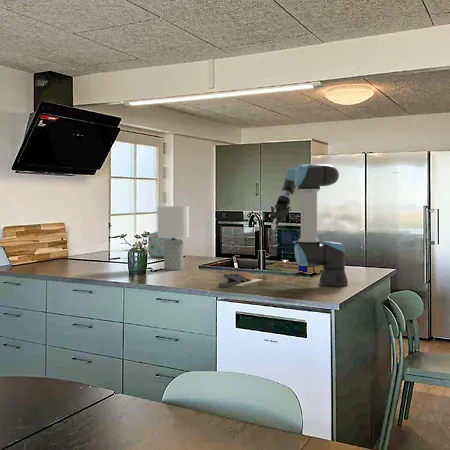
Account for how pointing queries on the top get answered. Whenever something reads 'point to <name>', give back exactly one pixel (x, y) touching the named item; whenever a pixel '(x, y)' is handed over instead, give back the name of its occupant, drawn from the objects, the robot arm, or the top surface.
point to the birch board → (248, 282)
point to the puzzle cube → (310, 269)
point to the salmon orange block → (245, 275)
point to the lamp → (173, 233)
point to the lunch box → (156, 245)
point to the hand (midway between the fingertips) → (273, 228)
